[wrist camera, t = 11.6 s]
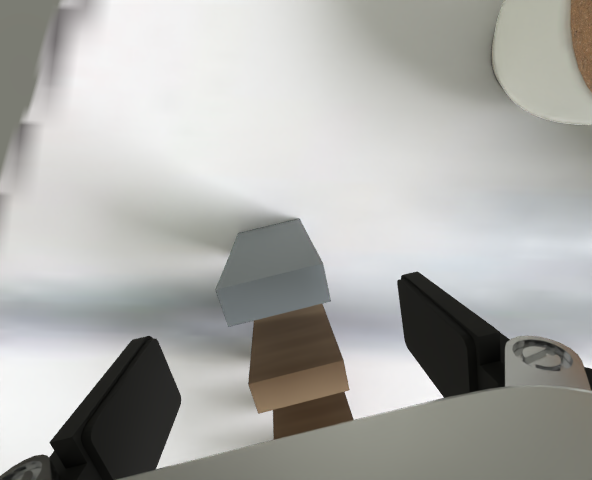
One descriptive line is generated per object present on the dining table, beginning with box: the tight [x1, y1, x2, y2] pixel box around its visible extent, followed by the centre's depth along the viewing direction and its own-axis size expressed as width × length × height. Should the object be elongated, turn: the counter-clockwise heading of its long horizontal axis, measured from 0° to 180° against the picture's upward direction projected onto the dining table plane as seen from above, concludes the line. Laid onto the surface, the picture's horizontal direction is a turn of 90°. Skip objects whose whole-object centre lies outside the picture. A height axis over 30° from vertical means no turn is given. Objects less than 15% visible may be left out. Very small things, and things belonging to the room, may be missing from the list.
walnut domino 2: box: [273, 392, 353, 440], centre depth 21 cm, size 2×5×10 cm, turn 102°
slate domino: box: [216, 219, 331, 327], centre depth 18 cm, size 2×5×10 cm, turn 102°
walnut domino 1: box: [248, 304, 349, 414], centre depth 19 cm, size 2×5×10 cm, turn 102°
